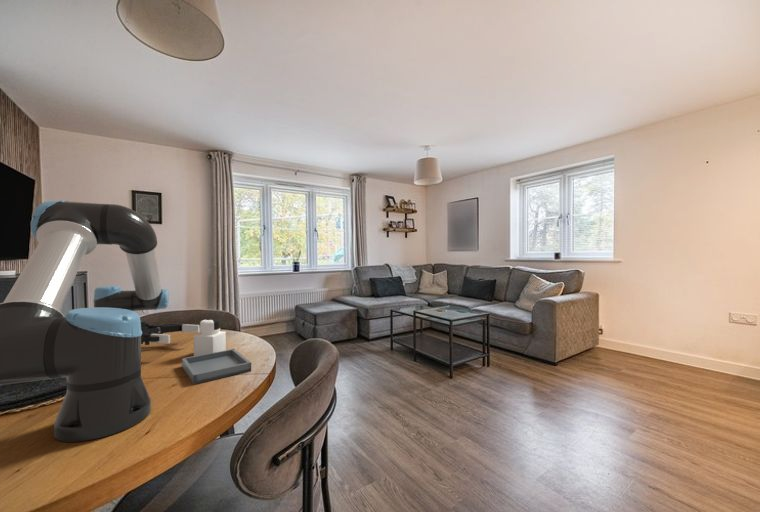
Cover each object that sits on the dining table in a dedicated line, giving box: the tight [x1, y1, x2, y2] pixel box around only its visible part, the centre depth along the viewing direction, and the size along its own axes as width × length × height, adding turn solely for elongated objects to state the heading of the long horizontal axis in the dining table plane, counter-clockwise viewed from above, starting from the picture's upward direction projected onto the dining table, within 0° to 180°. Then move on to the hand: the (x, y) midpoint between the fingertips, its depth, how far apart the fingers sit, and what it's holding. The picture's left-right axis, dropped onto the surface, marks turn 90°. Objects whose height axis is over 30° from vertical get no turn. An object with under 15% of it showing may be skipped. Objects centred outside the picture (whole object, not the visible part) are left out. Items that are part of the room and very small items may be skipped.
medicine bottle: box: [193, 318, 227, 356], centre depth 108 cm, size 7×7×12 cm
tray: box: [181, 348, 252, 385], centre depth 95 cm, size 17×15×2 cm
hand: (185, 333), depth 109 cm, fingers open, 13 cm apart
